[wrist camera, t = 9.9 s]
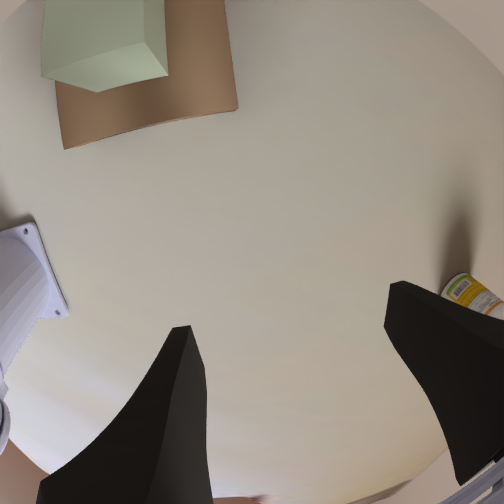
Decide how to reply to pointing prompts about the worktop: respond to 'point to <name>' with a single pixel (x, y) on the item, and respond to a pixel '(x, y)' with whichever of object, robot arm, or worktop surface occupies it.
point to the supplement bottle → (473, 296)
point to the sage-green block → (103, 42)
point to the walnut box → (160, 81)
